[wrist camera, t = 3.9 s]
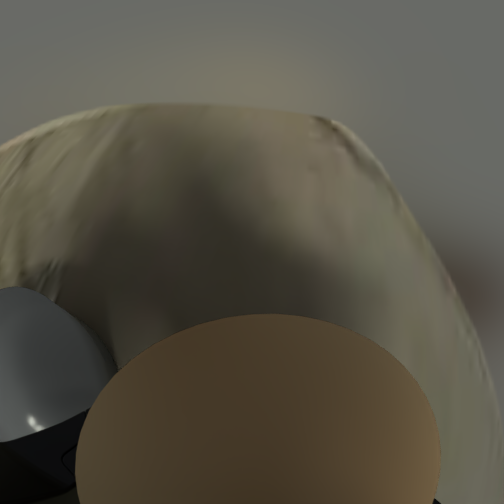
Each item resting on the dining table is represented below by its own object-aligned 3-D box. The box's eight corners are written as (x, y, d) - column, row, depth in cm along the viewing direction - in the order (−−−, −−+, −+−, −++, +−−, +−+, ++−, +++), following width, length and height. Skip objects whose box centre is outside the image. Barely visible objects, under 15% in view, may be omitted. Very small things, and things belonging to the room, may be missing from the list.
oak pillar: (233, 474, 12) (259, 644, 1) (173, 414, 13) (17, 448, 2) (297, 420, 13) (483, 450, 2) (238, 361, 15) (278, 242, 4)
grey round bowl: (48, 494, 9) (12, 507, 6) (-23, 362, 12) (-61, 348, 9) (160, 418, 13) (138, 424, 9) (67, 280, 16) (36, 250, 12)
